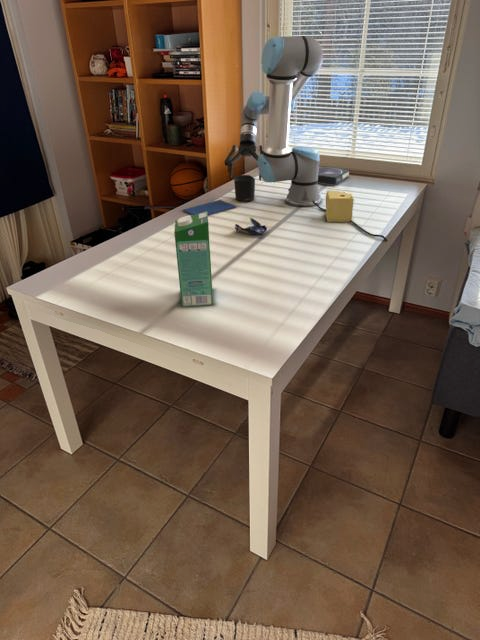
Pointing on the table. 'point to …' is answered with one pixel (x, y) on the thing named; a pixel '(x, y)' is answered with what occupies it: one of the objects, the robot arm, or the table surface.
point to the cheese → (339, 206)
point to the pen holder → (244, 188)
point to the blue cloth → (210, 208)
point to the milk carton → (194, 259)
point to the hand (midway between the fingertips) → (245, 178)
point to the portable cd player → (331, 175)
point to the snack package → (252, 228)
